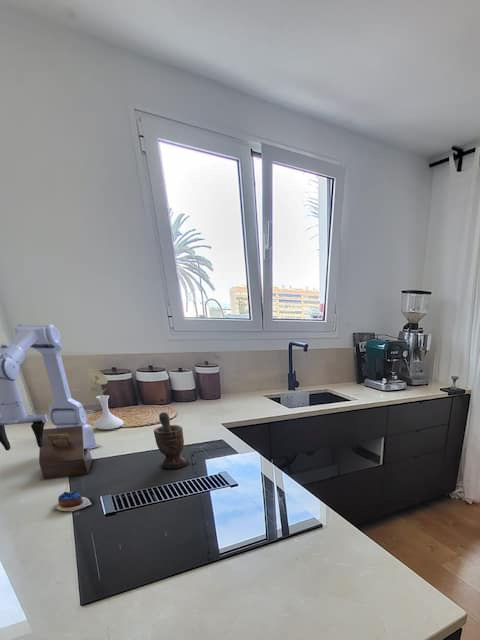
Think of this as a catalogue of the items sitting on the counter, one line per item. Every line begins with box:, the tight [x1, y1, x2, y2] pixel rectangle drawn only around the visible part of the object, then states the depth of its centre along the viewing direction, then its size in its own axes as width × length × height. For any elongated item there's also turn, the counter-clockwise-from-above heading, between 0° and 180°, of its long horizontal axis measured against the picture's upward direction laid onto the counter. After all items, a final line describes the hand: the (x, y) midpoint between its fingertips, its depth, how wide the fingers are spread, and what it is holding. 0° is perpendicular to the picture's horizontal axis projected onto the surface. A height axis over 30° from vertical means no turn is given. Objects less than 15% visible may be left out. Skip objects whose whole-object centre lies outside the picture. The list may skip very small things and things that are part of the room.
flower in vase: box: [86, 368, 125, 430], centre depth 168 cm, size 13×11×25 cm
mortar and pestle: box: [153, 411, 187, 470], centre depth 129 cm, size 12×9×20 cm
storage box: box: [39, 448, 93, 480], centre depth 128 cm, size 13×11×4 cm
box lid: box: [38, 426, 84, 466], centre depth 123 cm, size 14×11×4 cm
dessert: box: [56, 490, 92, 512], centre depth 106 cm, size 8×7×6 cm
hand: (24, 447), depth 116 cm, fingers open, 7 cm apart
